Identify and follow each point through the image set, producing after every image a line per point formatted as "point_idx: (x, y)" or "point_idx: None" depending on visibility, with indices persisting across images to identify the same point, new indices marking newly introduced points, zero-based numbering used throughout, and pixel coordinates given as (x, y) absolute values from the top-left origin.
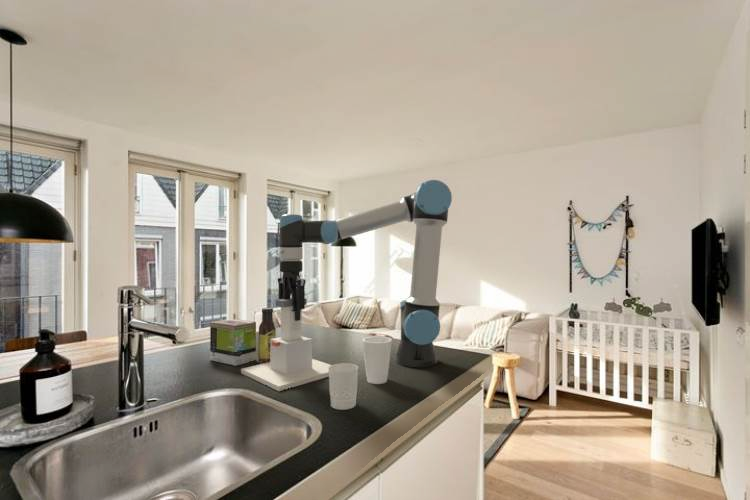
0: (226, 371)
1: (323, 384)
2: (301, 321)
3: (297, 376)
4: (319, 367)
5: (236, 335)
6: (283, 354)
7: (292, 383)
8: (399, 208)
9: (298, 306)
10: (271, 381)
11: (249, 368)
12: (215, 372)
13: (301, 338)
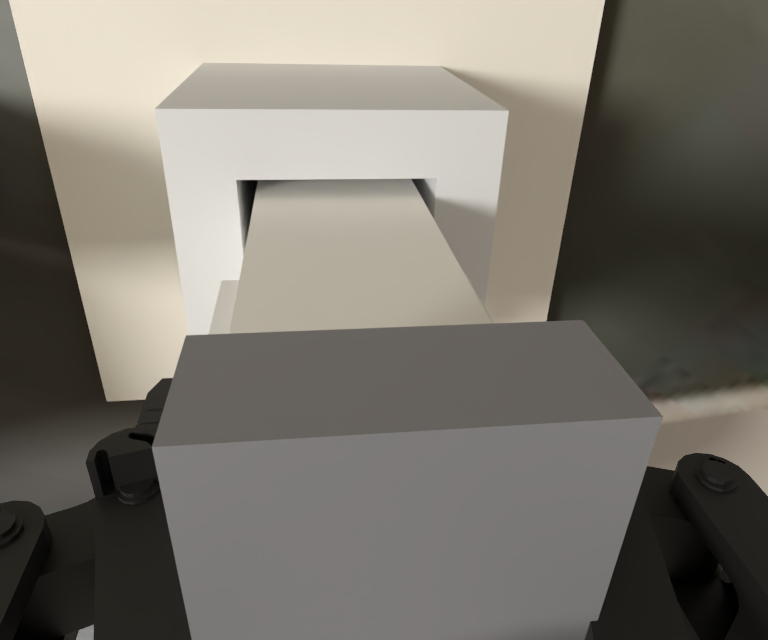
0: (22, 427)
1: (649, 151)
2: (464, 279)
3: (494, 239)
4: (464, 4)
5: None
6: None
7: (545, 305)
8: None
9: (721, 596)
10: None
11: (135, 367)
12: (7, 469)
13: (420, 199)
